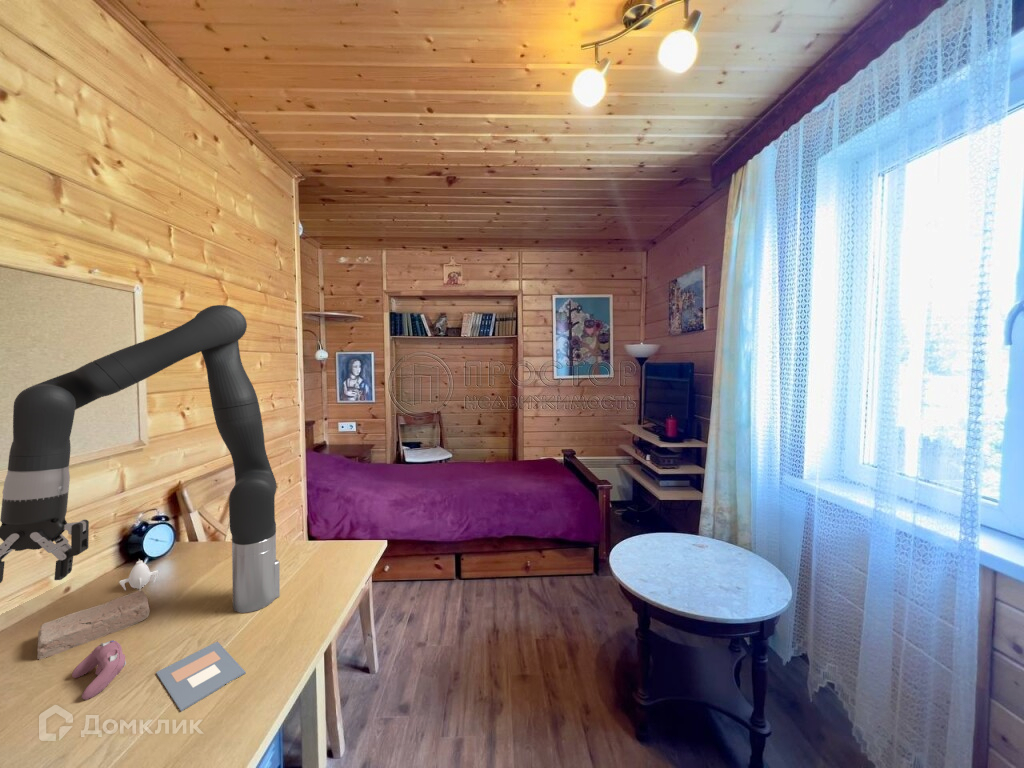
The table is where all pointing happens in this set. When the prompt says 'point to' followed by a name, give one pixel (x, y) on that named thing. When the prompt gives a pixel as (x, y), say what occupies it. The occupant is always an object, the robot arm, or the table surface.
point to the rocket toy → (139, 576)
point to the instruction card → (199, 675)
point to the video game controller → (101, 667)
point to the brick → (91, 624)
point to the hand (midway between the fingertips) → (28, 581)
